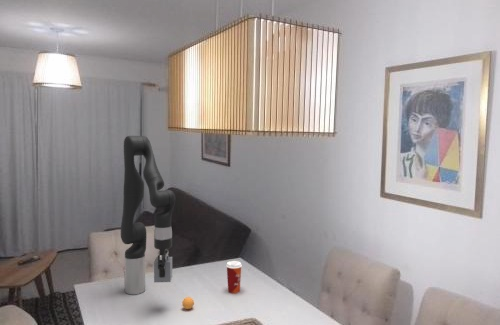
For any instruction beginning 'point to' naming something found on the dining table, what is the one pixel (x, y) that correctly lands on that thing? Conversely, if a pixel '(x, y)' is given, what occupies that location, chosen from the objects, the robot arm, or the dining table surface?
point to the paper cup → (234, 276)
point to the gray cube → (167, 271)
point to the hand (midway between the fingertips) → (163, 273)
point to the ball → (188, 303)
